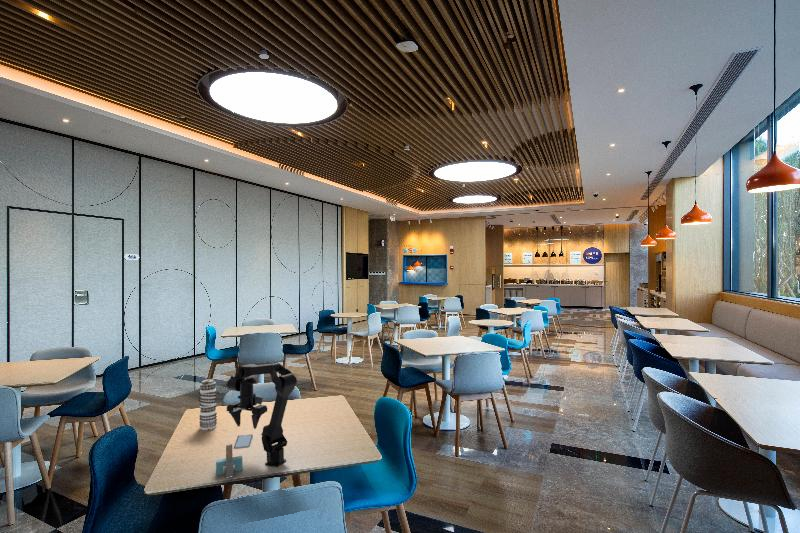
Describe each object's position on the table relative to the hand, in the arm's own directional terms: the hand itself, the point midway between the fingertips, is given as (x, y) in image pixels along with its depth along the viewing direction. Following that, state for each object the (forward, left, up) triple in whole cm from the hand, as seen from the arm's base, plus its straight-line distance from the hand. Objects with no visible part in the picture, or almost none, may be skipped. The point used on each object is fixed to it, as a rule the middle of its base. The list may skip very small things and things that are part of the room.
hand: (246, 427), depth 191 cm
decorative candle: (+45, -21, -12) cm, 51 cm away
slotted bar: (-5, +16, -12) cm, 21 cm away
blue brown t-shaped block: (-5, +16, -12) cm, 21 cm away
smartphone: (+12, -11, -13) cm, 21 cm away
